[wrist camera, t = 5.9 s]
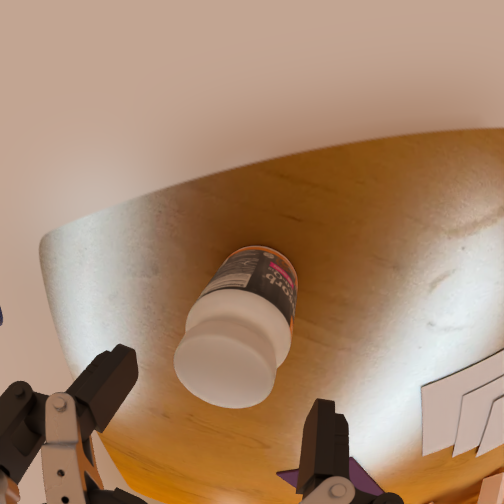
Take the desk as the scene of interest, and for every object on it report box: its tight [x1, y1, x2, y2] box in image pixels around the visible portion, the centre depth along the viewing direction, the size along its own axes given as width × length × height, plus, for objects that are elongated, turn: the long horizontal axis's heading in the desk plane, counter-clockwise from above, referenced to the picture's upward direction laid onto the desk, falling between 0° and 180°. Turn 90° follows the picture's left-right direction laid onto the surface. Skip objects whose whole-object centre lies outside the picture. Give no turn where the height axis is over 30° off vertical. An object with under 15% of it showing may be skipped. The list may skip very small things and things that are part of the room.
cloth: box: [276, 457, 385, 496], centre depth 32 cm, size 22×11×1 cm, turn 33°
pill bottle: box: [174, 246, 298, 408], centre depth 17 cm, size 6×6×10 cm
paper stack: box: [421, 350, 504, 457], centre depth 22 cm, size 23×25×1 cm
